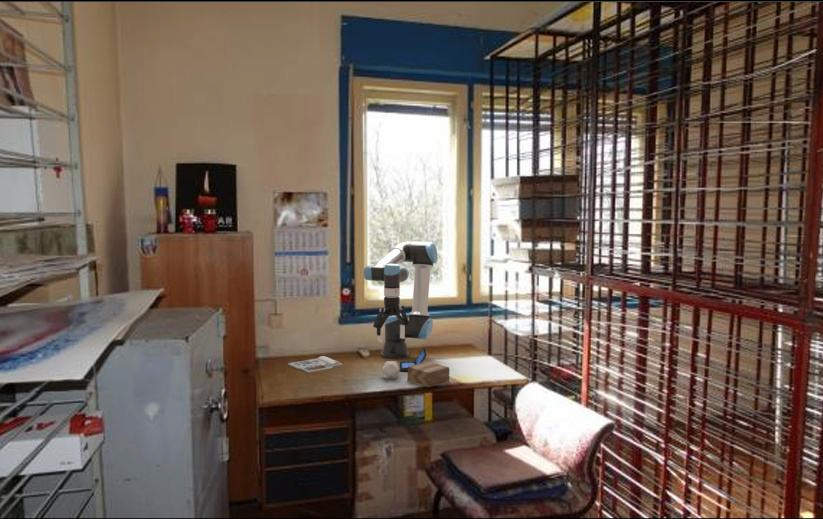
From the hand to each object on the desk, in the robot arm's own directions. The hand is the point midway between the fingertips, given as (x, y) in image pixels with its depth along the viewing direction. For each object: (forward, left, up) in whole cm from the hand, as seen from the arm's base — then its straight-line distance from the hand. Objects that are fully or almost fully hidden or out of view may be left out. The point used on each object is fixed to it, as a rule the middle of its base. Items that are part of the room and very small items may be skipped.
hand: (391, 340), depth 258 cm
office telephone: (-41, -17, -19) cm, 48 cm away
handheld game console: (-7, +19, -19) cm, 28 cm away
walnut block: (+15, +11, -19) cm, 26 cm away
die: (0, 0, -19) cm, 19 cm away
